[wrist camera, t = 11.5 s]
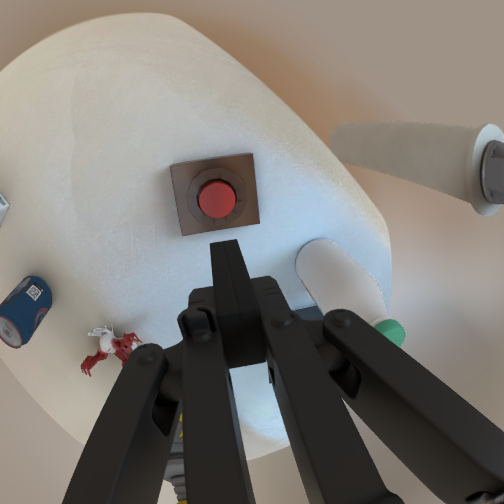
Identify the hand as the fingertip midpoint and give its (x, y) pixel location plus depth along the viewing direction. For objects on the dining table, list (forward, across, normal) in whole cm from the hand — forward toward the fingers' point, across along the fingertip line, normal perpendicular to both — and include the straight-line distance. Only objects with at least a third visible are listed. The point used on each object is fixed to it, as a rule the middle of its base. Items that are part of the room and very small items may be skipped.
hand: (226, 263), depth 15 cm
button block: (+21, 0, 0) cm, 21 cm away
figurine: (+22, -21, -22) cm, 37 cm away
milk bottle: (+21, +14, -12) cm, 28 cm away
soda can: (+22, -33, -10) cm, 40 cm away
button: (+18, 0, 0) cm, 18 cm away
